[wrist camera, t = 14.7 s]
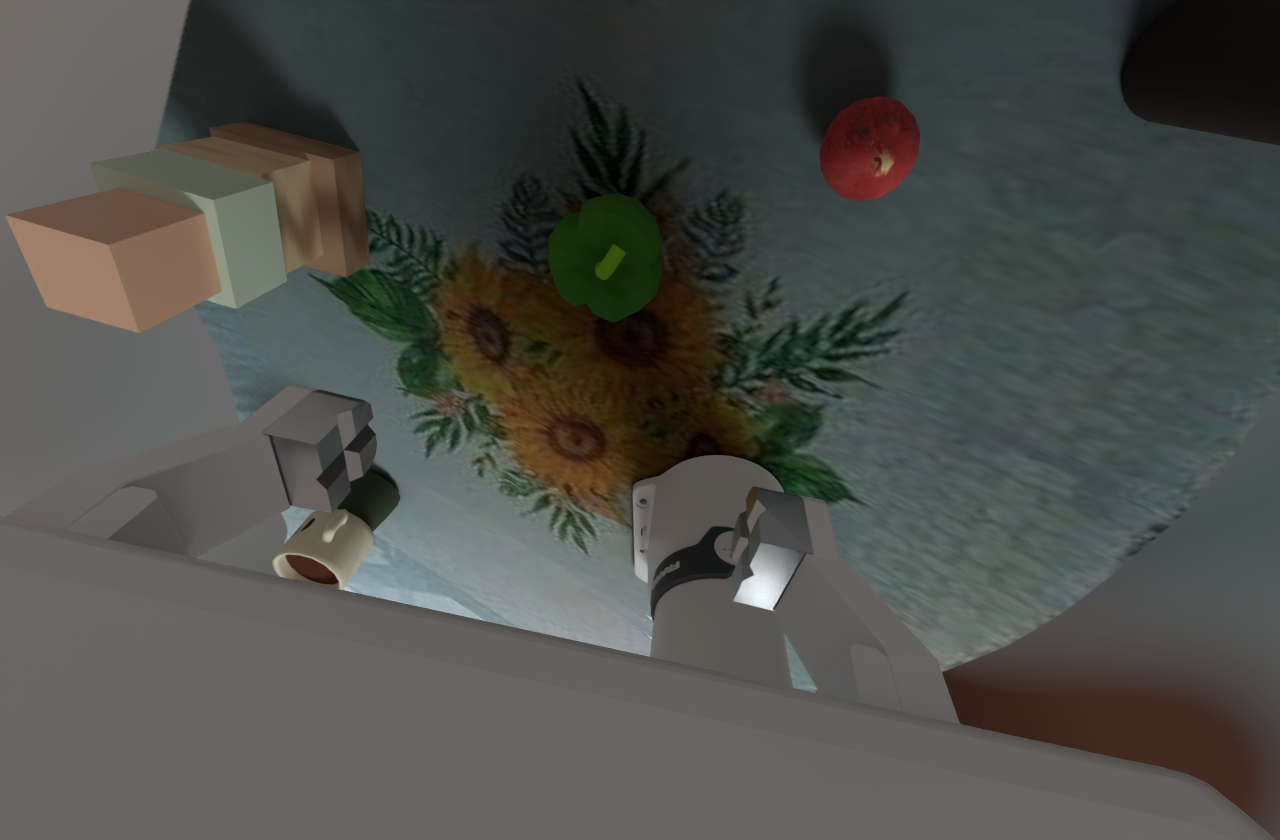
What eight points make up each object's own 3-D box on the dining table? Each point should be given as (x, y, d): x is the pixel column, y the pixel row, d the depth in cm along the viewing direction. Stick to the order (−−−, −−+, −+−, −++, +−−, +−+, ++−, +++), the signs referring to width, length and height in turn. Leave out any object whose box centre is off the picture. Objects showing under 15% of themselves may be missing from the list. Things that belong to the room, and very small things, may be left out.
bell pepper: (608, 304, 46) (584, 360, 38) (549, 221, 42) (508, 263, 34) (692, 254, 42) (686, 303, 34) (635, 158, 39) (613, 189, 31)
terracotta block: (222, 291, 34) (139, 333, 29) (144, 268, 34) (46, 306, 29) (204, 213, 31) (108, 245, 26) (118, 187, 31) (5, 215, 26)
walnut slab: (372, 261, 47) (346, 277, 43) (271, 235, 46) (237, 249, 43) (363, 150, 41) (333, 160, 38) (248, 120, 41) (208, 127, 38)
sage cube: (287, 281, 39) (236, 309, 35) (190, 252, 38) (127, 277, 34) (273, 181, 35) (213, 200, 30) (164, 148, 34) (90, 162, 30)
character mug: (356, 443, 59) (277, 529, 49) (416, 471, 61) (352, 561, 50) (339, 500, 65) (265, 588, 55) (394, 525, 67) (333, 615, 56)
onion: (798, 127, 37) (815, 145, 30) (882, 72, 34) (920, 78, 28) (832, 202, 39) (854, 234, 33) (913, 155, 37) (954, 179, 30)
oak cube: (323, 254, 42) (282, 276, 38) (237, 232, 42) (186, 252, 38) (310, 160, 38) (261, 174, 34) (214, 136, 38) (154, 147, 34)
